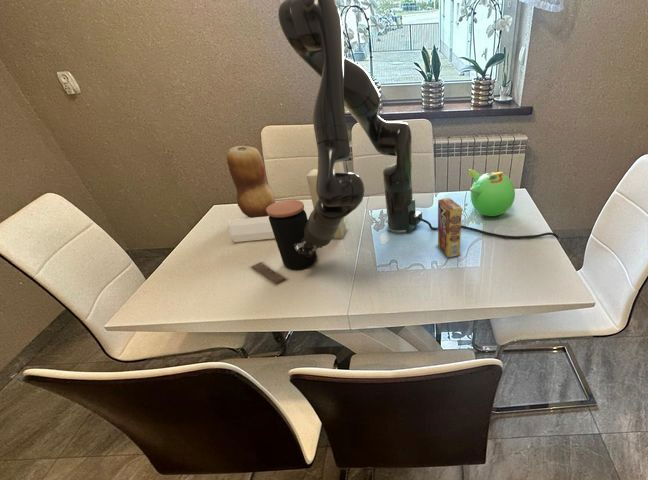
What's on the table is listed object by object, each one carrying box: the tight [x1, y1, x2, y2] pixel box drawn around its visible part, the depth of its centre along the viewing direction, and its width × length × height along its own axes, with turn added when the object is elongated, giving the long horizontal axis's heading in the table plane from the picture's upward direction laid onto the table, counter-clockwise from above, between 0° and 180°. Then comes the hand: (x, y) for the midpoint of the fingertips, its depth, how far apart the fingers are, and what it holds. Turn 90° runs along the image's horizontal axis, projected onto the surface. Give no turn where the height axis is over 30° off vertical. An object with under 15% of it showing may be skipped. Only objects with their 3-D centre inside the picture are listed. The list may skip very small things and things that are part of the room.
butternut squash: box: [226, 145, 276, 218], centre depth 139 cm, size 14×13×25 cm
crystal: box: [227, 216, 275, 243], centre depth 133 cm, size 7×7×24 cm
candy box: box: [437, 197, 463, 258], centre depth 116 cm, size 9×4×15 cm, turn 20°
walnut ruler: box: [251, 262, 286, 285], centre depth 116 cm, size 15×3×1 cm, turn 46°
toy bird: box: [467, 168, 516, 217], centre depth 136 cm, size 18×17×15 cm
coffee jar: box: [266, 199, 318, 271], centre depth 114 cm, size 11×11×18 cm
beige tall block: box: [306, 168, 347, 239], centre depth 127 cm, size 8×7×21 cm
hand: (307, 254), depth 114 cm, fingers closed
